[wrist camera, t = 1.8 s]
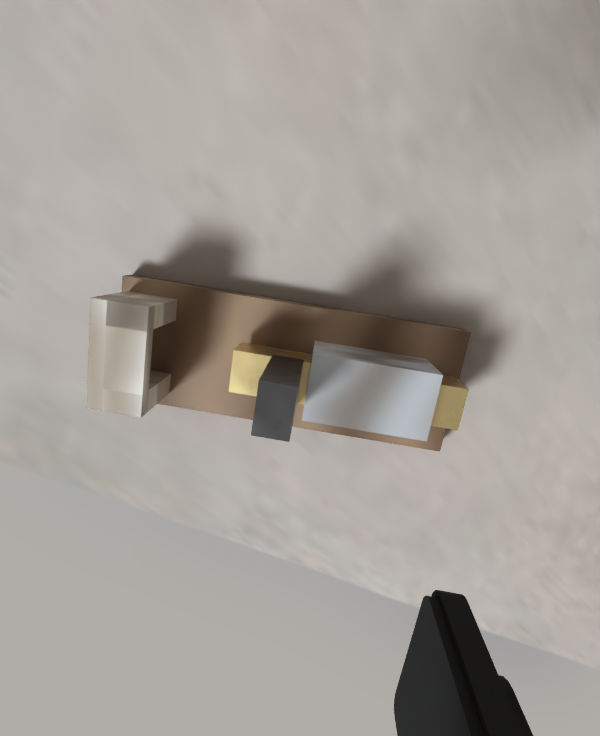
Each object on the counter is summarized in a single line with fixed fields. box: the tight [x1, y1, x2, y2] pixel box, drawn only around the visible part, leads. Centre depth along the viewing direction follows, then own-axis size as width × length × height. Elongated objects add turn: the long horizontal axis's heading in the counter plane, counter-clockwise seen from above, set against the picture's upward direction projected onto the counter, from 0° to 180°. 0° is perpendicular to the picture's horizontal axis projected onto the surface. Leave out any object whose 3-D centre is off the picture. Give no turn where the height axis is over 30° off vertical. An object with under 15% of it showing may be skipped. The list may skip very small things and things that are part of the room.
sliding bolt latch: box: [86, 275, 470, 451], centre depth 30 cm, size 24×9×7 cm, turn 81°
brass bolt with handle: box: [229, 342, 468, 442], centre depth 26 cm, size 15×3×9 cm, turn 81°
